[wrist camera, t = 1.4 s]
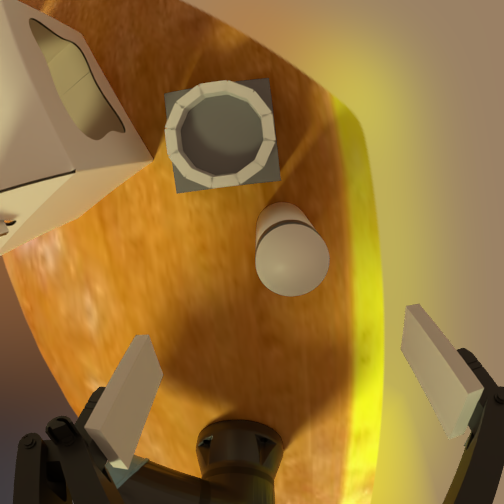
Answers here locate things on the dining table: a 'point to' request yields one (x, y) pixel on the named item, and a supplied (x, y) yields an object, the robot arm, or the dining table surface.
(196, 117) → the grey socket block
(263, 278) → the beige rounded cylinder
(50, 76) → the gable box
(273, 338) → the dining table surface
